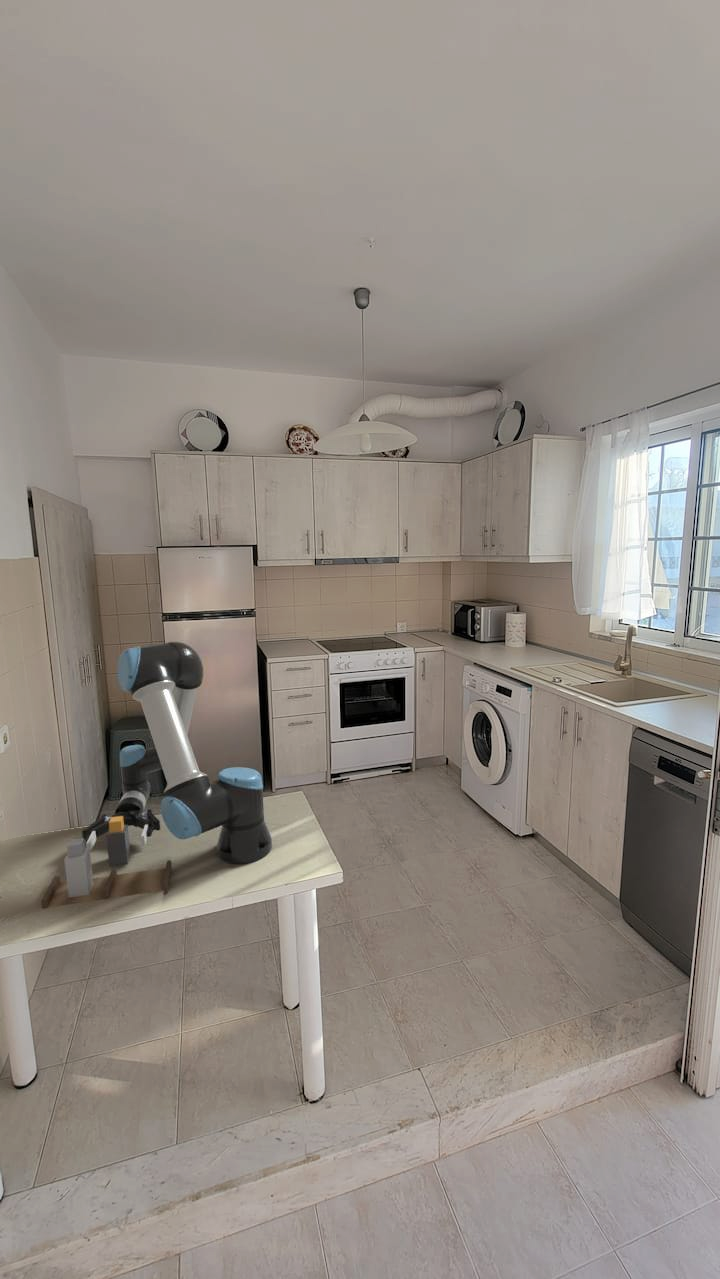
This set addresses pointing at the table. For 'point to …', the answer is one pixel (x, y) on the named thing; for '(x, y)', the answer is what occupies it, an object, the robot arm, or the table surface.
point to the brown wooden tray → (111, 886)
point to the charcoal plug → (118, 842)
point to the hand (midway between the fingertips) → (115, 844)
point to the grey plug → (78, 868)
